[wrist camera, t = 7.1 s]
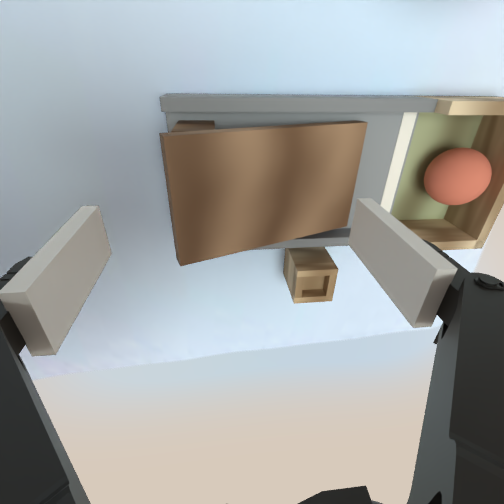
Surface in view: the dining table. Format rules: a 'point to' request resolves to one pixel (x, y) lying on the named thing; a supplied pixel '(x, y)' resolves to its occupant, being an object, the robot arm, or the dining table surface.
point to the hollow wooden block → (310, 274)
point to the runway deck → (320, 111)
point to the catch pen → (438, 141)
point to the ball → (457, 176)
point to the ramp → (257, 183)
